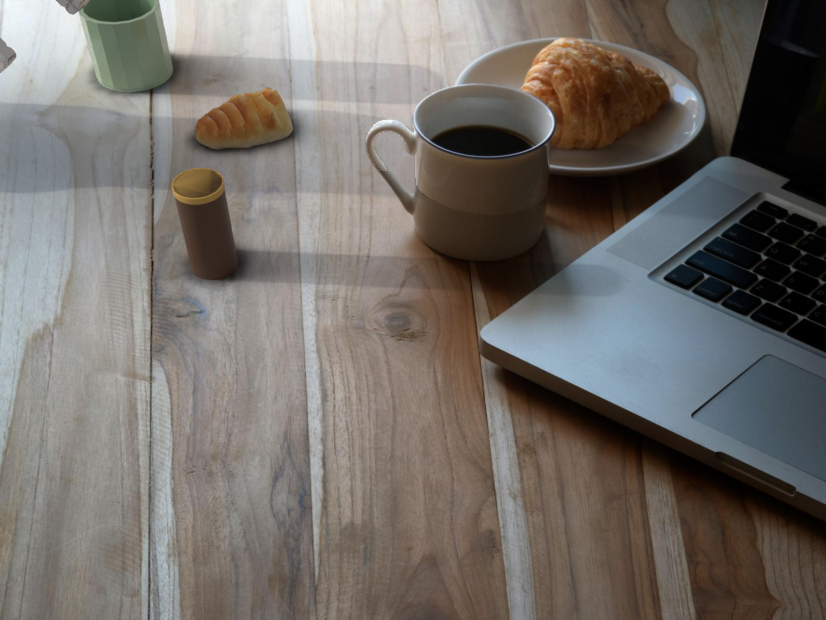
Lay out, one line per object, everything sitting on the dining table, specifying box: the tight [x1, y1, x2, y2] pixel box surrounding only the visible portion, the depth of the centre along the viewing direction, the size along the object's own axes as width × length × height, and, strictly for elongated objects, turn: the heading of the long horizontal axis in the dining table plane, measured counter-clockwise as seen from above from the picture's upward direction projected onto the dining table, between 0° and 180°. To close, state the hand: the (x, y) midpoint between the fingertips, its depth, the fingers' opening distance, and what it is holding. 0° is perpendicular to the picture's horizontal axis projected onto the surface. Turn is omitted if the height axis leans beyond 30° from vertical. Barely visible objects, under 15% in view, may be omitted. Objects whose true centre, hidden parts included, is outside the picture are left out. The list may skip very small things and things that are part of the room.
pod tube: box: [171, 167, 239, 281], centre depth 78 cm, size 4×4×9 cm
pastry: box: [194, 86, 294, 150], centre depth 93 cm, size 9×7×4 cm
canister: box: [78, 0, 174, 93], centre depth 99 cm, size 8×8×8 cm
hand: (46, 35), depth 71 cm, fingers open, 8 cm apart
